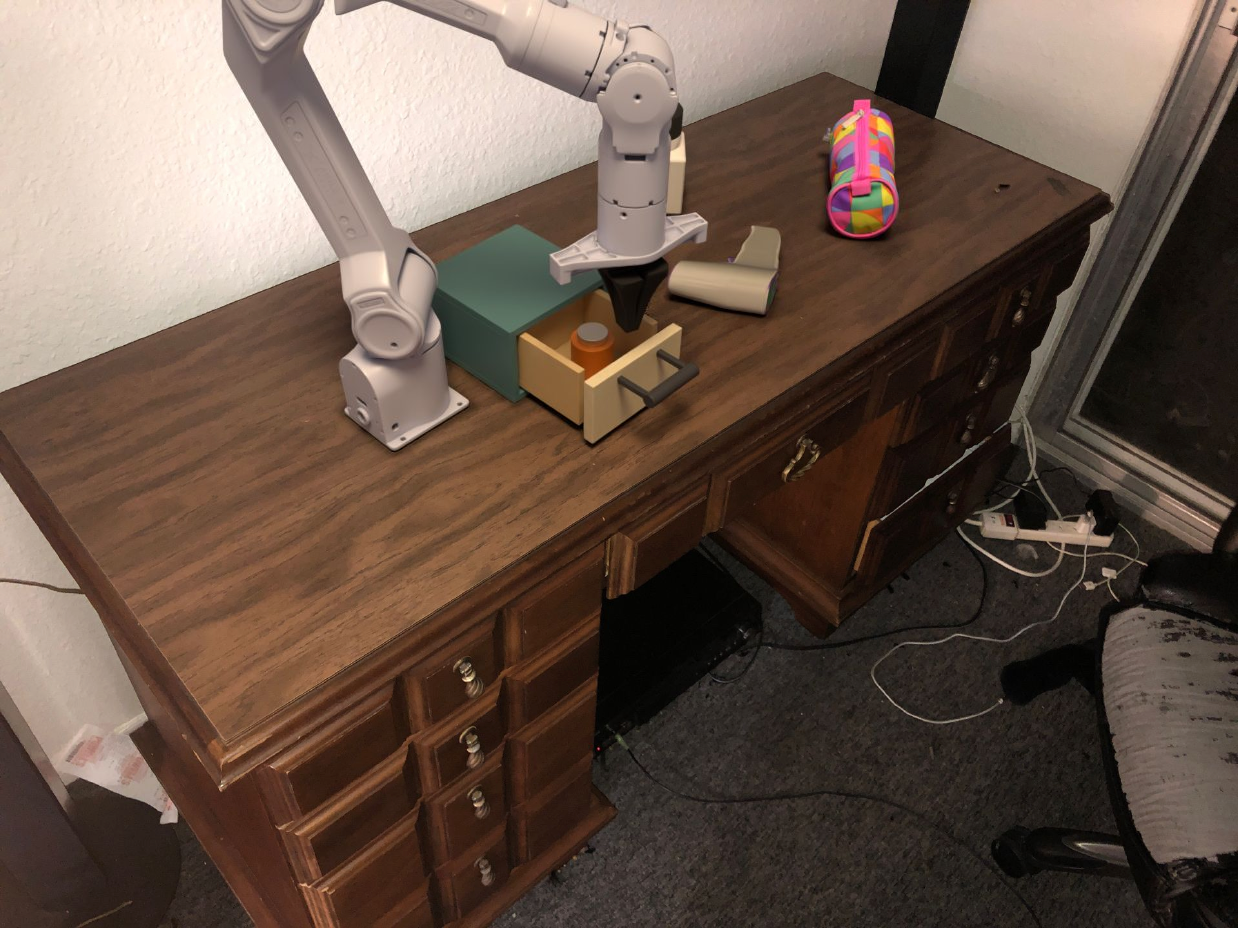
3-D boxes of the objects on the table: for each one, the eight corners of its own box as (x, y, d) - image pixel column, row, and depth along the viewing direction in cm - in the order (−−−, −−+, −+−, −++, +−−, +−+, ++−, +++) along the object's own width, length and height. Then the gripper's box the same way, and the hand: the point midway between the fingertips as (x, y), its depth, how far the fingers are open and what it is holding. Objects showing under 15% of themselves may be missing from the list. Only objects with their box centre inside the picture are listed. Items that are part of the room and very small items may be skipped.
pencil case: (817, 158, 133) (829, 95, 126) (885, 165, 132) (901, 101, 126) (818, 241, 117) (832, 174, 111) (895, 248, 117) (913, 181, 110)
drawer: (713, 405, 94) (720, 349, 89) (629, 468, 87) (632, 412, 82) (588, 330, 102) (588, 275, 97) (502, 383, 95) (498, 327, 90)
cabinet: (607, 344, 102) (609, 274, 95) (514, 403, 94) (509, 333, 88) (520, 292, 108) (517, 223, 102) (427, 344, 101) (416, 274, 94)
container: (681, 216, 121) (689, 118, 111) (620, 214, 121) (624, 115, 111) (679, 185, 126) (687, 89, 117) (621, 183, 126) (625, 87, 117)
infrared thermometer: (782, 257, 116) (772, 321, 105) (684, 243, 118) (664, 305, 107) (788, 222, 113) (778, 285, 102) (688, 209, 115) (667, 269, 104)
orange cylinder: (621, 379, 94) (623, 334, 90) (588, 395, 92) (588, 350, 89) (595, 358, 97) (596, 313, 93) (562, 373, 95) (561, 328, 91)
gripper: (681, 150, 82) (671, 282, 92) (530, 189, 77) (536, 324, 86) (727, 186, 78) (711, 321, 87) (571, 230, 73) (573, 368, 82)
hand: (627, 325), depth 87 cm, fingers closed
